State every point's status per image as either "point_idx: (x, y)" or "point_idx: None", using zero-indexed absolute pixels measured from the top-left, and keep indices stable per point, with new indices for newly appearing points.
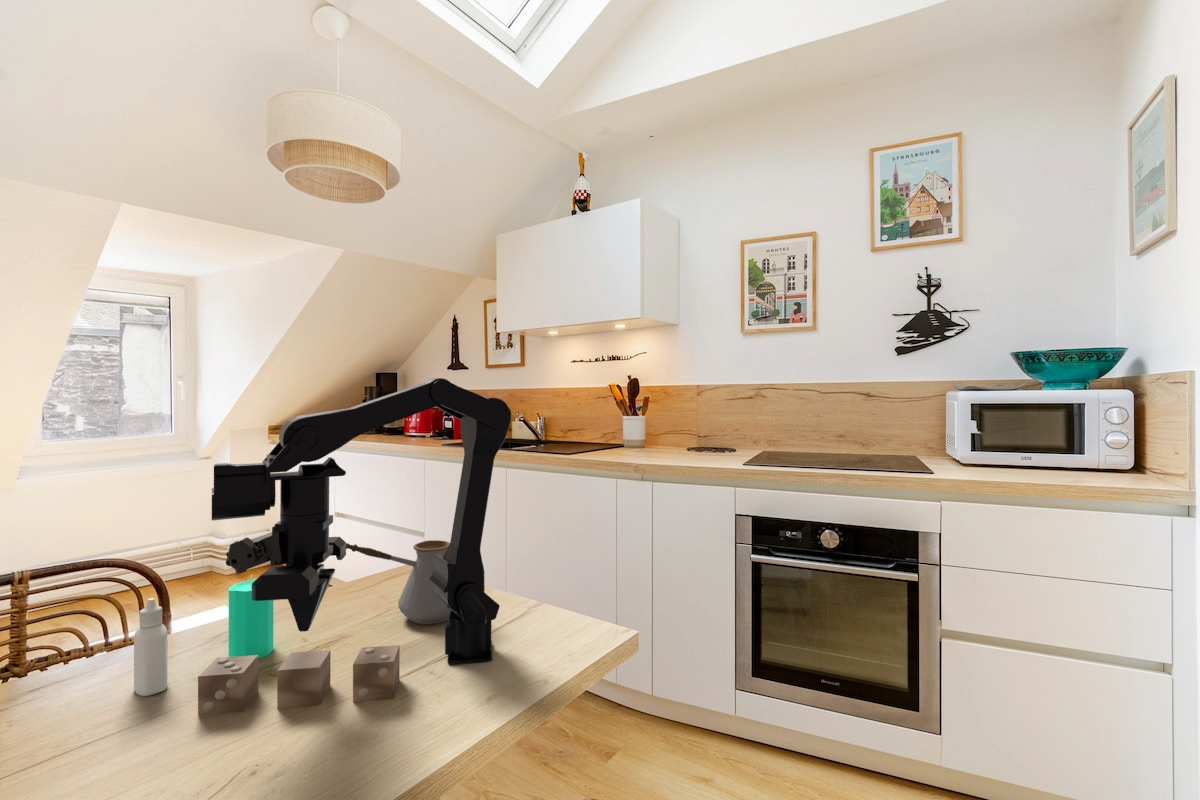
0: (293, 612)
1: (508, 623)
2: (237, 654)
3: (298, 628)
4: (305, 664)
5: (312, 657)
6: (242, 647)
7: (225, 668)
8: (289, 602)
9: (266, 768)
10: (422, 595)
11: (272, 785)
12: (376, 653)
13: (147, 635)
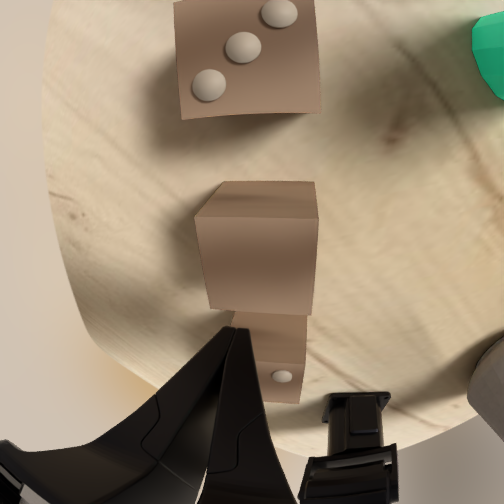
0: (166, 385)
1: (420, 421)
2: (481, 31)
3: (218, 332)
4: (227, 277)
5: (269, 285)
6: (491, 40)
7: (219, 47)
8: (121, 422)
9: (80, 228)
10: (495, 394)
11: (63, 245)
12: (268, 382)
13: None
